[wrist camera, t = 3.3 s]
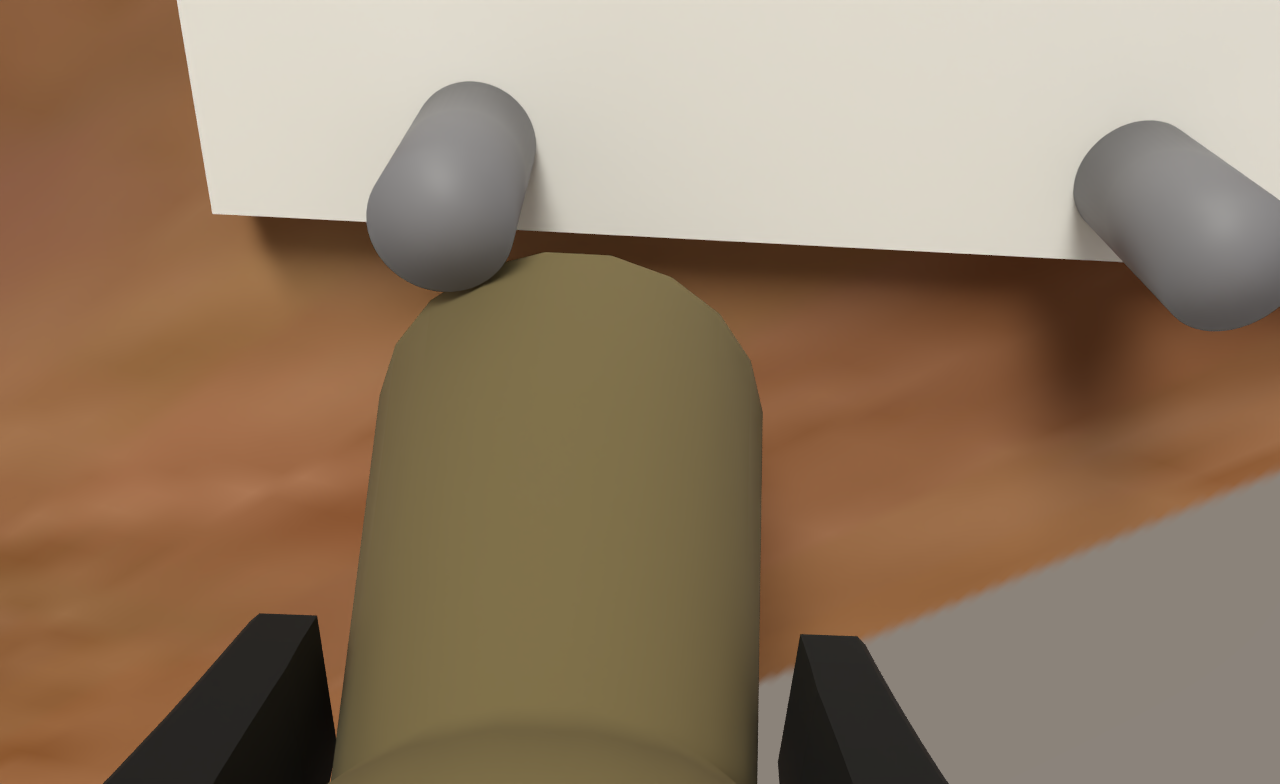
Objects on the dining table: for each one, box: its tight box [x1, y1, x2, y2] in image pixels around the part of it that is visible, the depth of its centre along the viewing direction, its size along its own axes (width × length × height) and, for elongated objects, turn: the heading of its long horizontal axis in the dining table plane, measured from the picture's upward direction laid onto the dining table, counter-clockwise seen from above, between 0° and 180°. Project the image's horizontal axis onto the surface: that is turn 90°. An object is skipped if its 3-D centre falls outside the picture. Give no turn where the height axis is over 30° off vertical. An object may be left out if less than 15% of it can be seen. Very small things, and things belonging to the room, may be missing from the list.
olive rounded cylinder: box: [328, 252, 763, 784], centre depth 12 cm, size 6×6×11 cm
